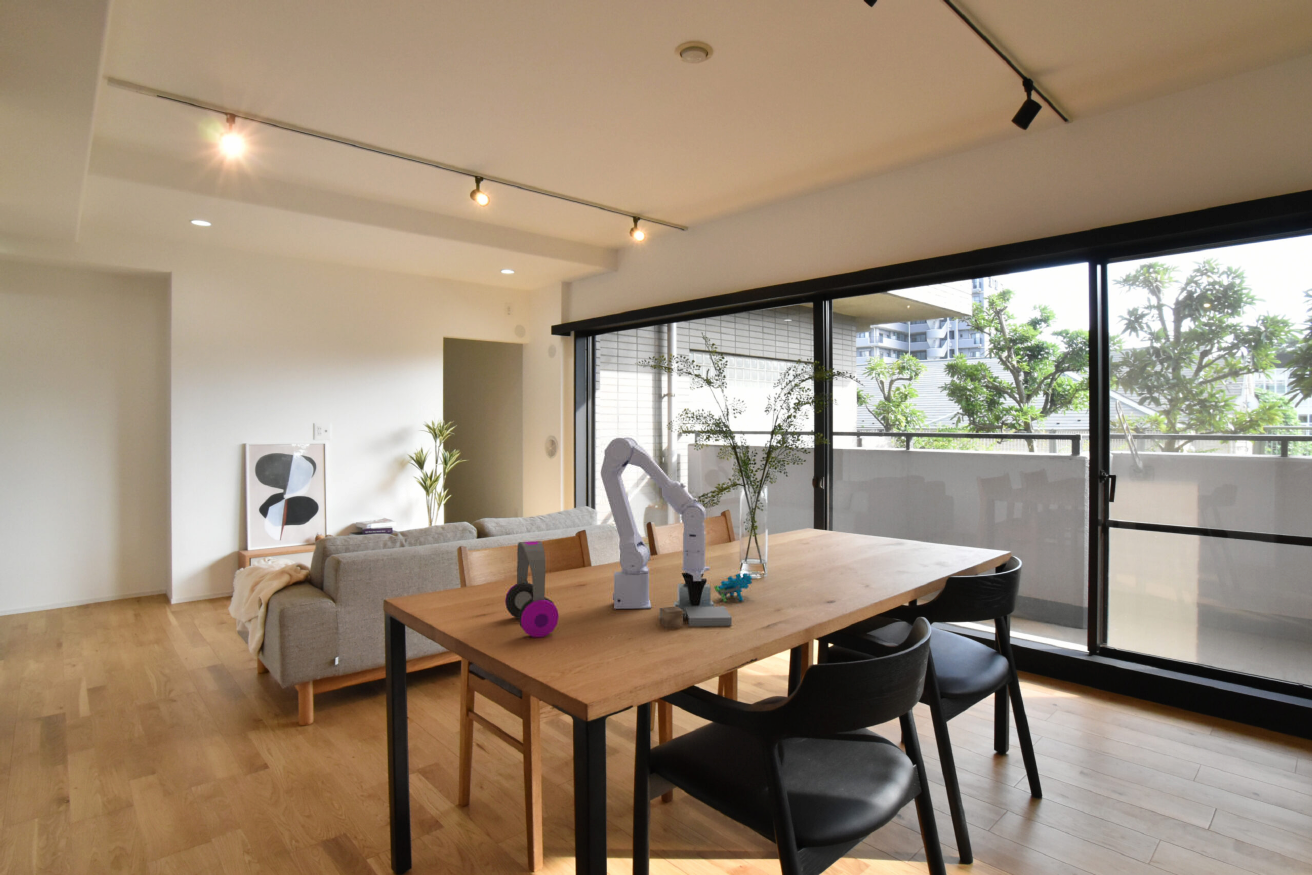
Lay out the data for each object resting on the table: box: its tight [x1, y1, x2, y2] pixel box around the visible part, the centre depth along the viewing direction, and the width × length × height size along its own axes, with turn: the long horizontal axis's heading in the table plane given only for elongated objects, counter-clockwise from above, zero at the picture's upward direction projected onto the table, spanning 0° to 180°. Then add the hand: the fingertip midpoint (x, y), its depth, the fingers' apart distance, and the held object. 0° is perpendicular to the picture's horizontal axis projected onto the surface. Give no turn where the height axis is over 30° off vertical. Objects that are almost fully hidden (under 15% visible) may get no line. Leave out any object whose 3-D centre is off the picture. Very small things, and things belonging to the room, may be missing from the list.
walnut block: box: [660, 606, 684, 630], centre depth 160 cm, size 4×4×4 cm
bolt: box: [658, 607, 686, 621], centre depth 165 cm, size 6×3×3 cm, turn 94°
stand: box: [684, 605, 733, 627], centre depth 164 cm, size 10×10×2 cm
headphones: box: [504, 540, 560, 638], centre depth 159 cm, size 21×9×20 cm, turn 23°
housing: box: [673, 582, 715, 612], centre depth 175 cm, size 10×4×6 cm, turn 94°
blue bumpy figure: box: [713, 572, 753, 603], centre depth 185 cm, size 11×6×10 cm
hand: (693, 602), depth 175 cm, fingers closed on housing, 4 cm apart
